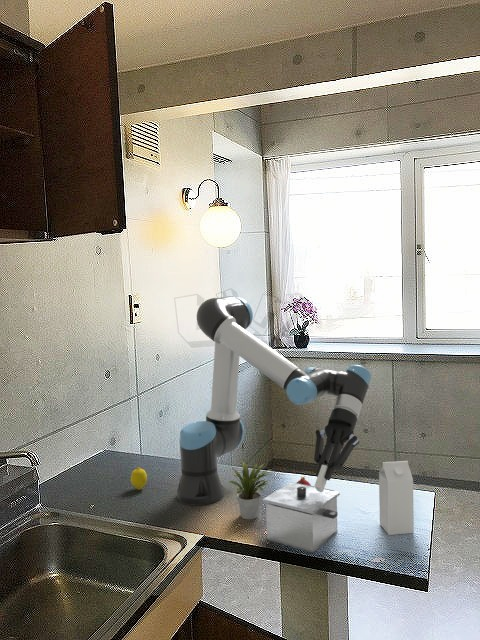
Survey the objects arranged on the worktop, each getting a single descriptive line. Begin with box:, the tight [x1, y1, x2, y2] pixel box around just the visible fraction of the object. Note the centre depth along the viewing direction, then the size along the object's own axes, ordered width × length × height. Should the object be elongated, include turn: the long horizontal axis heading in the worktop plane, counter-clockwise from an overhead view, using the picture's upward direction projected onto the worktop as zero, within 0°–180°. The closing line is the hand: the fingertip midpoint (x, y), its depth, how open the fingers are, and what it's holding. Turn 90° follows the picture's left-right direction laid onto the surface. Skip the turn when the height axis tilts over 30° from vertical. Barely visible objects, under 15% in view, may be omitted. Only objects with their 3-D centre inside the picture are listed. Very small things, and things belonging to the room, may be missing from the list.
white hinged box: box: [265, 497, 339, 554], centre depth 152 cm, size 20×14×10 cm
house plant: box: [228, 461, 275, 520], centre depth 165 cm, size 14×14×16 cm
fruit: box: [130, 466, 148, 491], centre depth 191 cm, size 6×6×8 cm
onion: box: [296, 476, 312, 486], centre depth 175 cm, size 6×6×8 cm
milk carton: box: [378, 460, 415, 536], centre depth 154 cm, size 7×7×19 cm
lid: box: [262, 481, 340, 514], centre depth 152 cm, size 15×16×3 cm
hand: (318, 489), depth 149 cm, fingers closed
